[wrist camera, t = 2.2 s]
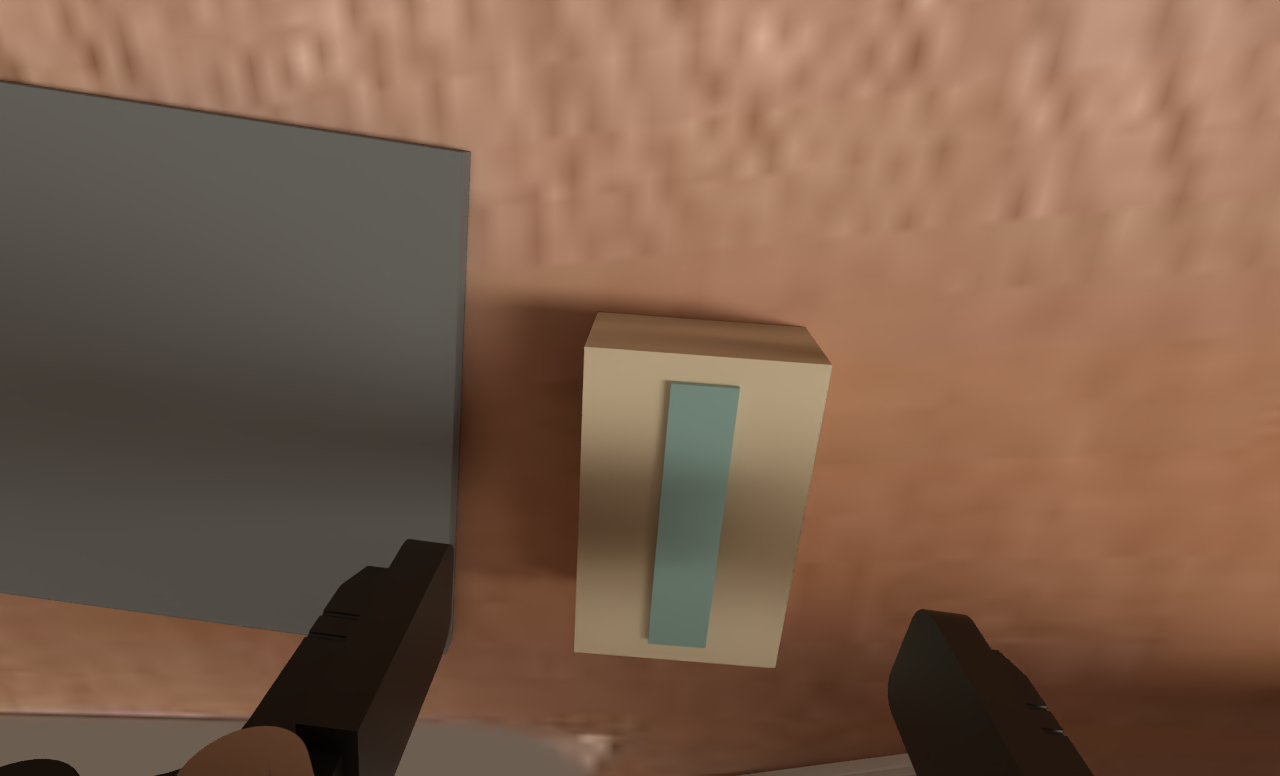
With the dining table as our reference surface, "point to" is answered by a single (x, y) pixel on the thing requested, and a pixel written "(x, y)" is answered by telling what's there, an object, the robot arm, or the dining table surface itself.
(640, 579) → the block with teal slot
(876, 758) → the hard drive
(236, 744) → the robot arm
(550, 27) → the dining table surface
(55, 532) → the rubber mat
